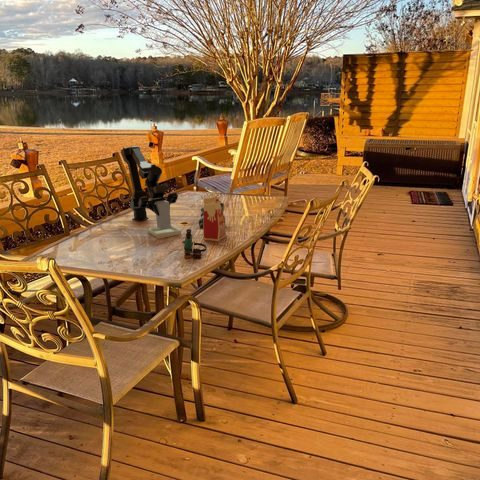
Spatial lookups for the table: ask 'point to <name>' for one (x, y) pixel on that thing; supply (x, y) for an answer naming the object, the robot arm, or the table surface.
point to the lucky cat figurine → (203, 214)
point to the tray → (164, 232)
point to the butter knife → (172, 254)
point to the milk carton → (213, 220)
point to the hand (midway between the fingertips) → (164, 214)
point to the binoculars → (189, 244)
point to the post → (163, 214)
